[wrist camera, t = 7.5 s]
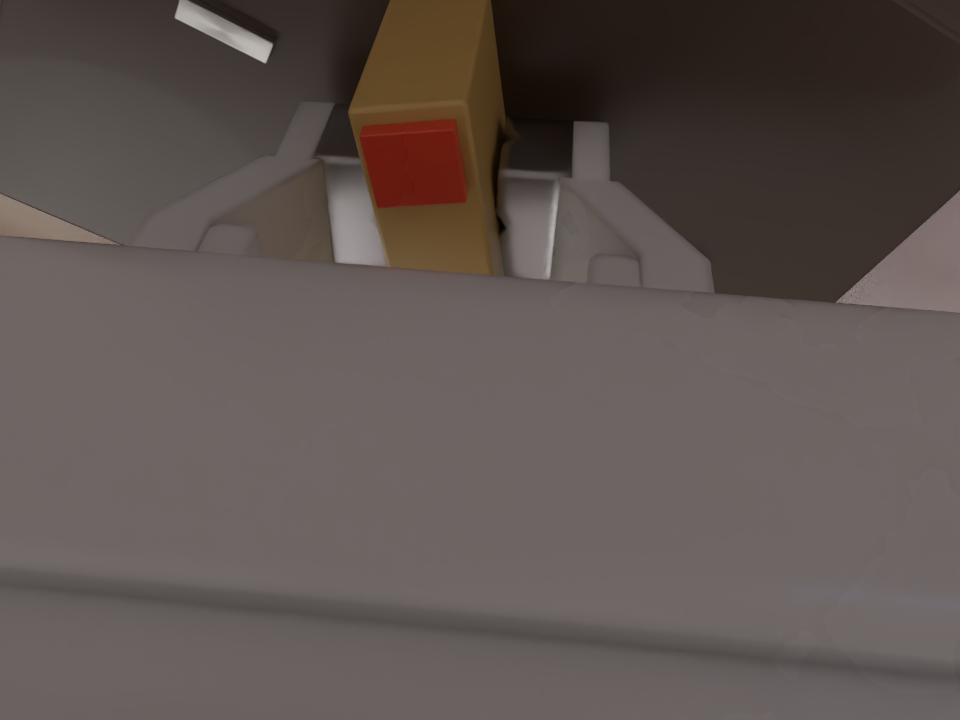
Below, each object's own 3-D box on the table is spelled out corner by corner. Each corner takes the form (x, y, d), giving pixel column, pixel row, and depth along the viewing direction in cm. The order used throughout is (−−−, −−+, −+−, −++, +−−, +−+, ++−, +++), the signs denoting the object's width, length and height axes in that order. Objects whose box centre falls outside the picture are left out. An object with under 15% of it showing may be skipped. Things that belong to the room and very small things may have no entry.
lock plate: (994, 12, 15) (1066, 107, 13) (644, 372, 22) (650, 477, 19) (170, -541, 11) (64, -545, 9) (46, 98, 18) (-33, 189, 15)
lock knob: (525, 271, 16) (512, 418, 13) (446, 275, 16) (419, 420, 14) (489, -15, 12) (464, 111, 10) (389, -6, 13) (341, 121, 10)
